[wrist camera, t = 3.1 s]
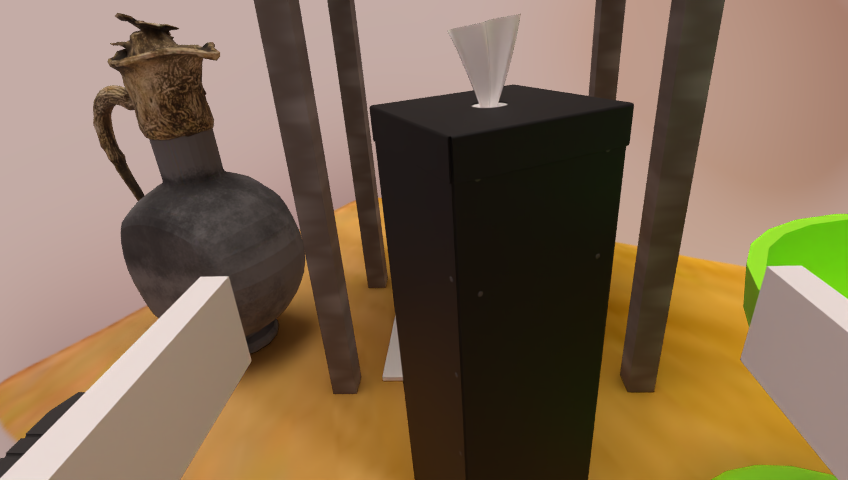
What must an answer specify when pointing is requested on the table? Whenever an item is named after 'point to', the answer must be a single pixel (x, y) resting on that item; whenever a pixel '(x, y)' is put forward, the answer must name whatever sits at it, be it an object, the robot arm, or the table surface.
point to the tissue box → (500, 264)
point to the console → (302, 142)
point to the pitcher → (195, 191)
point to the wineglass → (824, 257)
